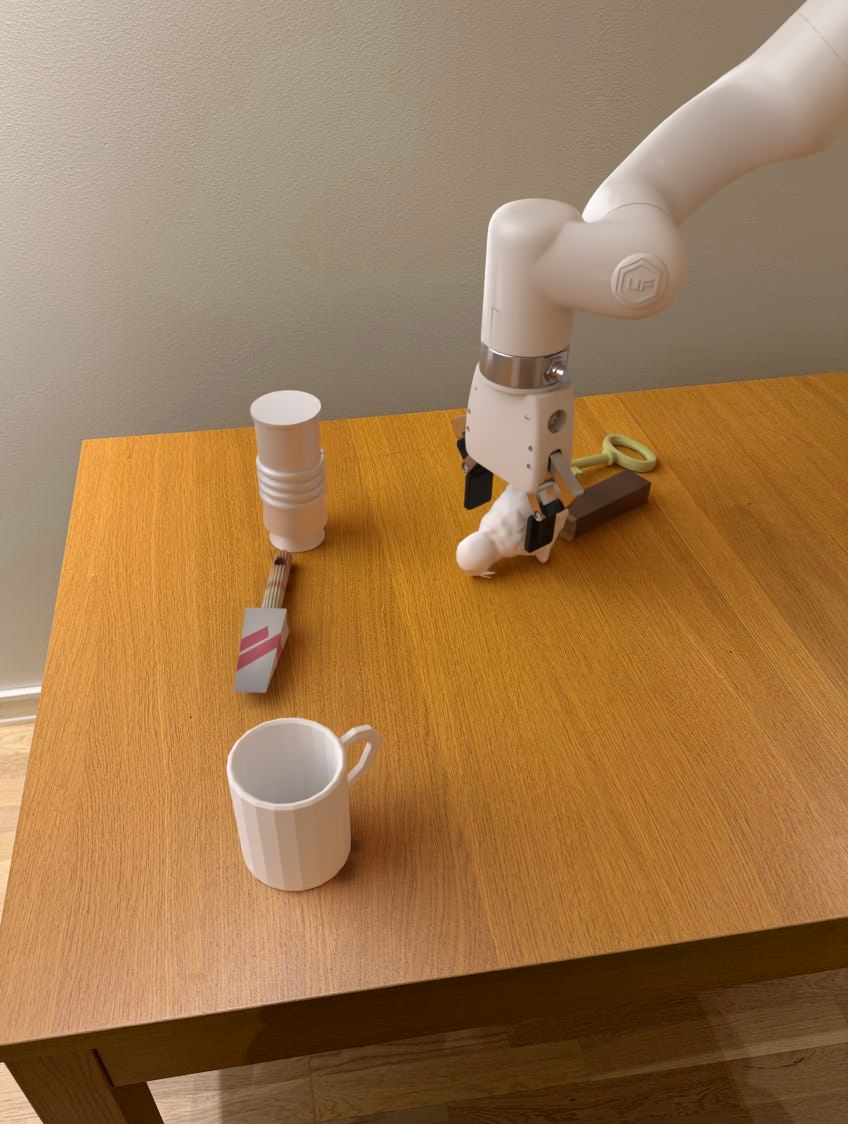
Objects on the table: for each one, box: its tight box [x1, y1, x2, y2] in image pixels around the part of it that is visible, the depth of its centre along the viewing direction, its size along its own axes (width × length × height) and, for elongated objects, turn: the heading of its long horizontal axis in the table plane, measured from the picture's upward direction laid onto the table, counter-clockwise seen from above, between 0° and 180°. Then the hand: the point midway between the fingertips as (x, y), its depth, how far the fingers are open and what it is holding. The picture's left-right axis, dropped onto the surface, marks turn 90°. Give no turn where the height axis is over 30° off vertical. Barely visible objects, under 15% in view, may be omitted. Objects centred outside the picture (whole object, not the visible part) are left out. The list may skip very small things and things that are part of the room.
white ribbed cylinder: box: [249, 389, 329, 553], centre depth 92 cm, size 7×7×15 cm
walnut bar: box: [558, 468, 652, 543], centre depth 98 cm, size 12×4×3 cm, turn 126°
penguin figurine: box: [455, 483, 569, 579], centre depth 91 cm, size 6×8×12 cm
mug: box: [225, 717, 384, 892], centre depth 66 cm, size 8×12×10 cm
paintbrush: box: [233, 549, 294, 694], centre depth 86 cm, size 4×3×20 cm
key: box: [570, 433, 657, 478], centre depth 105 cm, size 7×12×2 cm, turn 136°
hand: (507, 524), depth 91 cm, fingers open, 8 cm apart
